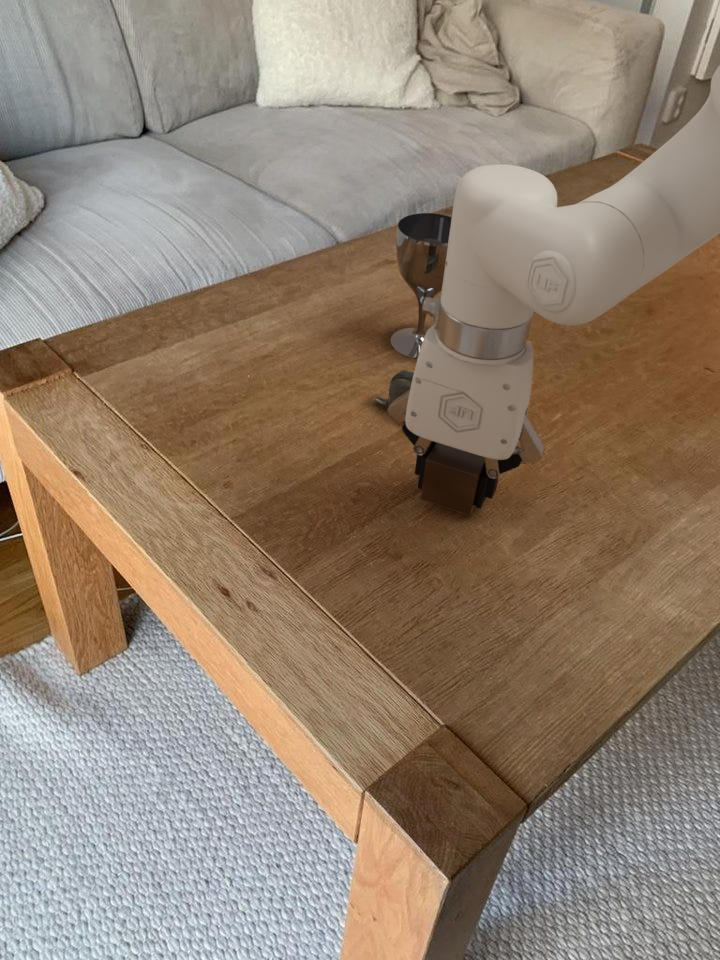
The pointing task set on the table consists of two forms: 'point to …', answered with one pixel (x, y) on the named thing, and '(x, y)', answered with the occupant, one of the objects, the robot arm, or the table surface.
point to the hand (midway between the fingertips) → (453, 488)
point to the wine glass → (420, 269)
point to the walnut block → (452, 478)
